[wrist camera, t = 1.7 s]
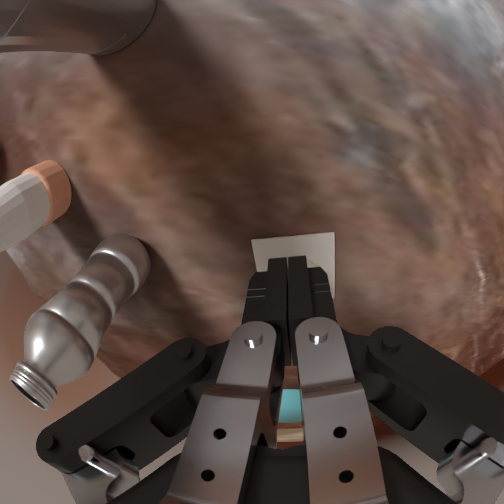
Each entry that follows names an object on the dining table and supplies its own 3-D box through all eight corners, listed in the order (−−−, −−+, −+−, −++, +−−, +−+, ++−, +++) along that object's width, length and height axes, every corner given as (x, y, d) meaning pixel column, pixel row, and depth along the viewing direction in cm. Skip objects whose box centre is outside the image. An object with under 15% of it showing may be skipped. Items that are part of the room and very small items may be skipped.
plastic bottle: (157, 281, 31) (77, 432, 13) (109, 268, 31) (18, 396, 13) (156, 233, 27) (42, 394, 10) (104, 222, 27) (-18, 350, 10)
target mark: (242, 389, 41) (242, 390, 41) (328, 385, 38) (328, 387, 38) (255, 422, 48) (255, 422, 47) (324, 419, 45) (324, 420, 45)
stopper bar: (253, 428, 50) (252, 438, 48) (328, 426, 47) (328, 436, 45) (255, 431, 51) (254, 441, 48) (327, 429, 48) (328, 439, 46)
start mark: (251, 239, 27) (251, 240, 26) (334, 231, 25) (334, 232, 25) (263, 302, 30) (263, 303, 30) (334, 296, 29) (334, 297, 29)
